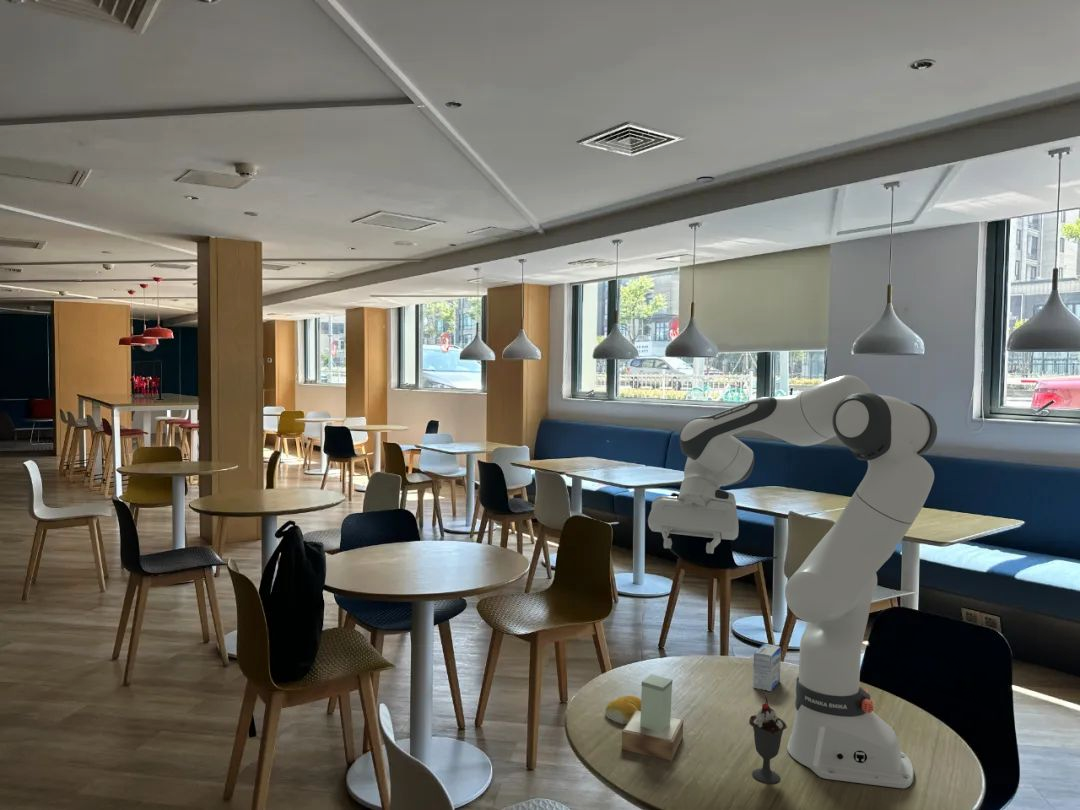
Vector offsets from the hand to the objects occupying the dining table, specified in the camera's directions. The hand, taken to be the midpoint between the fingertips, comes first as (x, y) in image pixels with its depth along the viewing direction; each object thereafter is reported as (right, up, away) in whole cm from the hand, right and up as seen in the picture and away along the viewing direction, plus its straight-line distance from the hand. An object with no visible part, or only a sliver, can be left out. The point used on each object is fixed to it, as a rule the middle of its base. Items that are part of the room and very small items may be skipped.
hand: (687, 549), depth 162 cm
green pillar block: (-10, -32, -16) cm, 37 cm away
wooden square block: (-10, -36, -16) cm, 41 cm away
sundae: (+9, -37, -27) cm, 47 cm away
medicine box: (+22, -36, +14) cm, 44 cm away
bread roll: (-14, -36, -4) cm, 39 cm away
